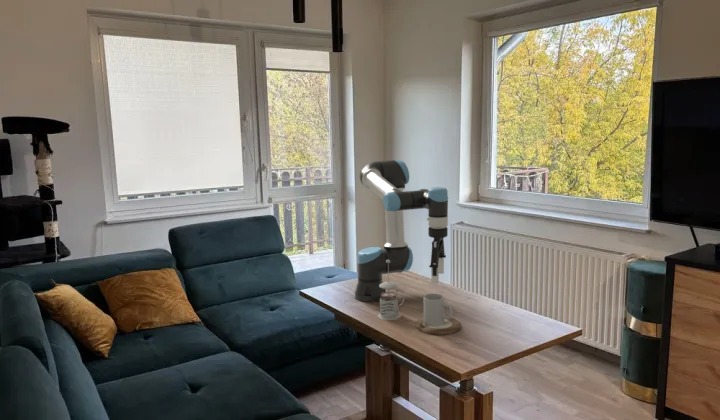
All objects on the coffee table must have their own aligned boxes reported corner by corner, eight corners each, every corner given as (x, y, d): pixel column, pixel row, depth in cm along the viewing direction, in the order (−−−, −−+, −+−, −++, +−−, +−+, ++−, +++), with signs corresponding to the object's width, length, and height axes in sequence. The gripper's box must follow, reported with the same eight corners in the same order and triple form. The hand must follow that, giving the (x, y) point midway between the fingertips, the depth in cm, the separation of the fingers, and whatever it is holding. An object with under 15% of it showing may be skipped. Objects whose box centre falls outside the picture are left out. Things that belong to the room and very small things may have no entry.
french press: (381, 311, 231) (380, 256, 227) (407, 313, 227) (406, 257, 223) (374, 318, 222) (373, 261, 218) (401, 321, 218) (400, 263, 214)
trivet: (407, 324, 214) (406, 318, 214) (439, 315, 224) (439, 309, 224) (436, 338, 199) (436, 332, 199) (470, 327, 209) (470, 321, 209)
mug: (419, 324, 211) (419, 298, 209) (429, 317, 218) (428, 292, 216) (447, 329, 205) (447, 302, 203) (456, 322, 212) (456, 296, 210)
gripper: (433, 220, 220) (433, 268, 223) (422, 232, 196) (422, 286, 200) (451, 221, 218) (451, 270, 221) (442, 233, 194) (442, 288, 198)
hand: (437, 278), depth 211 cm, fingers open, 13 cm apart
